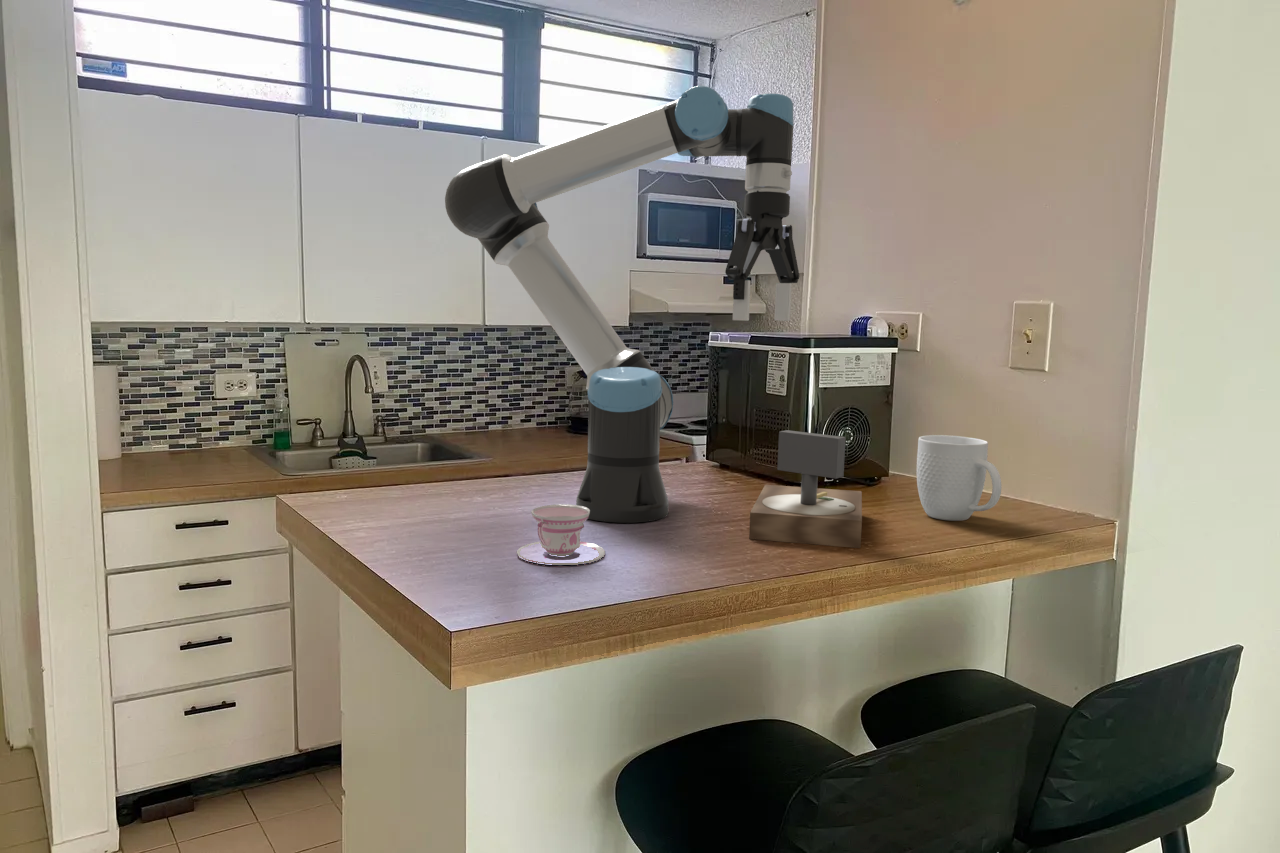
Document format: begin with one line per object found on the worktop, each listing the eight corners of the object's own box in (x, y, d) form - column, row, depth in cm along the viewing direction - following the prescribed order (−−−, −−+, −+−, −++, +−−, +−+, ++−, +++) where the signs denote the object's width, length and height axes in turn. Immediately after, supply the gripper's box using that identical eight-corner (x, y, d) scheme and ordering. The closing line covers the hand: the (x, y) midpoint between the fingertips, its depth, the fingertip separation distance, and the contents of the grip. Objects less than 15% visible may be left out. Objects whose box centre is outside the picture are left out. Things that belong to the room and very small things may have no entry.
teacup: (551, 539, 131) (552, 497, 130) (621, 552, 125) (622, 509, 124) (498, 558, 121) (498, 513, 120) (572, 573, 115) (572, 526, 114)
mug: (1017, 524, 147) (1023, 445, 145) (974, 532, 141) (980, 449, 139) (941, 506, 159) (946, 433, 157) (899, 513, 153) (904, 437, 151)
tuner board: (749, 538, 134) (750, 510, 133) (764, 507, 155) (765, 482, 154) (860, 548, 130) (862, 518, 129) (860, 514, 151) (861, 489, 151)
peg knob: (834, 509, 135) (838, 438, 134) (776, 499, 141) (779, 431, 140) (854, 502, 140) (858, 434, 139) (797, 493, 146) (800, 427, 145)
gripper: (747, 182, 139) (741, 321, 142) (822, 199, 159) (816, 321, 161) (706, 185, 144) (702, 319, 147) (784, 201, 163) (779, 320, 166)
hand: (762, 320), depth 154 cm, fingers open, 13 cm apart
